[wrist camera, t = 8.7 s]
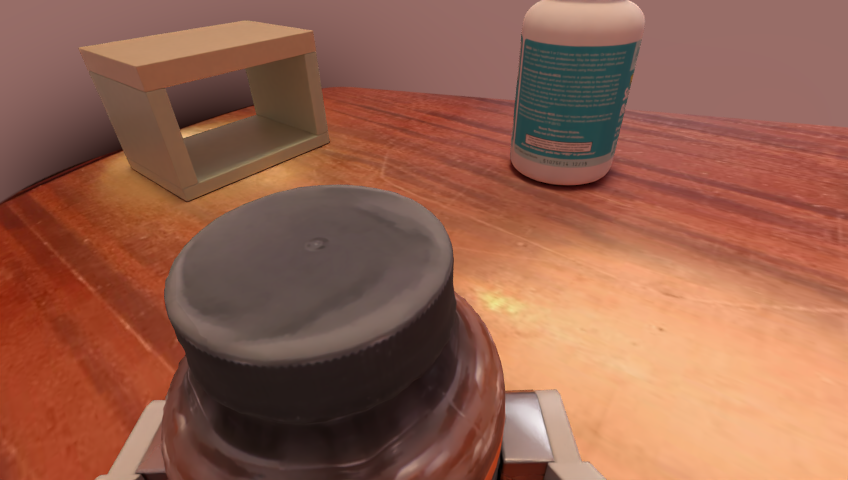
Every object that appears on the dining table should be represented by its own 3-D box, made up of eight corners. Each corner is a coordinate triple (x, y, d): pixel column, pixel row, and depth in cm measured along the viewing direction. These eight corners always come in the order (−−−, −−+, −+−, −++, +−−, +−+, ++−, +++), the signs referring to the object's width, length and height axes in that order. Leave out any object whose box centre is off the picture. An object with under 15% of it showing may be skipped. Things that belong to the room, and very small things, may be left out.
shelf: (186, 202, 30) (135, 66, 25) (130, 168, 35) (77, 47, 30) (330, 142, 39) (313, 30, 34) (269, 121, 43) (246, 20, 38)
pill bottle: (629, 185, 31) (691, -42, 23) (528, 195, 30) (559, -37, 23) (581, 144, 37) (619, -47, 30) (496, 151, 36) (512, -44, 29)
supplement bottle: (342, 436, 16) (278, 138, 10) (504, 499, 14) (561, 182, 8) (223, 636, 11) (-54, 328, 5) (438, 770, 10) (442, 553, 3)
